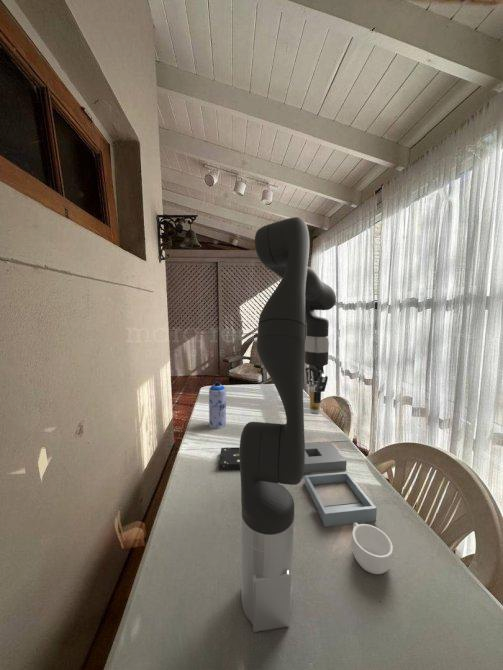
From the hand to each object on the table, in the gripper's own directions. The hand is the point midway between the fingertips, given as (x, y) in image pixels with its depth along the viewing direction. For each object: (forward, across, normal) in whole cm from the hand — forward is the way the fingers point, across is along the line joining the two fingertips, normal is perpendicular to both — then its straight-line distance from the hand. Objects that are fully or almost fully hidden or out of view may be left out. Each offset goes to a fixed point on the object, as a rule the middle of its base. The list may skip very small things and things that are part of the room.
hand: (314, 400), depth 87 cm
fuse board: (+22, 0, 0) cm, 22 cm away
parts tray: (+22, -18, 0) cm, 29 cm away
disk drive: (+23, +5, +24) cm, 34 cm away
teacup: (+23, -34, +1) cm, 41 cm away
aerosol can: (+23, +34, +32) cm, 52 cm away
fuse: (+4, 0, 0) cm, 4 cm away
